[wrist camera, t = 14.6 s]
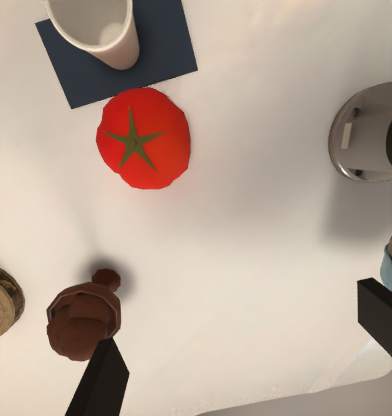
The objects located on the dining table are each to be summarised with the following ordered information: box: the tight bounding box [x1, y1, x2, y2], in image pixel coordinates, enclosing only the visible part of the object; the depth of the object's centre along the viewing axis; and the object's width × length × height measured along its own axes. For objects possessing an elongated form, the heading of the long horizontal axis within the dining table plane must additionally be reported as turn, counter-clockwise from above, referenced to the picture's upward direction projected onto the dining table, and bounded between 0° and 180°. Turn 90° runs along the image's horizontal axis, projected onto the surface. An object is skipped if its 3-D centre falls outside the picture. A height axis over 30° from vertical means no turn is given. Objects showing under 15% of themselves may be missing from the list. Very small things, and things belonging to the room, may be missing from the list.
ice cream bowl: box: [46, 269, 121, 361], centre depth 33 cm, size 11×11×15 cm
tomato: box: [96, 87, 190, 189], centre depth 29 cm, size 13×12×11 cm
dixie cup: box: [44, 0, 139, 70], centre depth 25 cm, size 8×8×10 cm
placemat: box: [35, 0, 198, 109], centre depth 30 cm, size 20×11×1 cm, turn 106°
